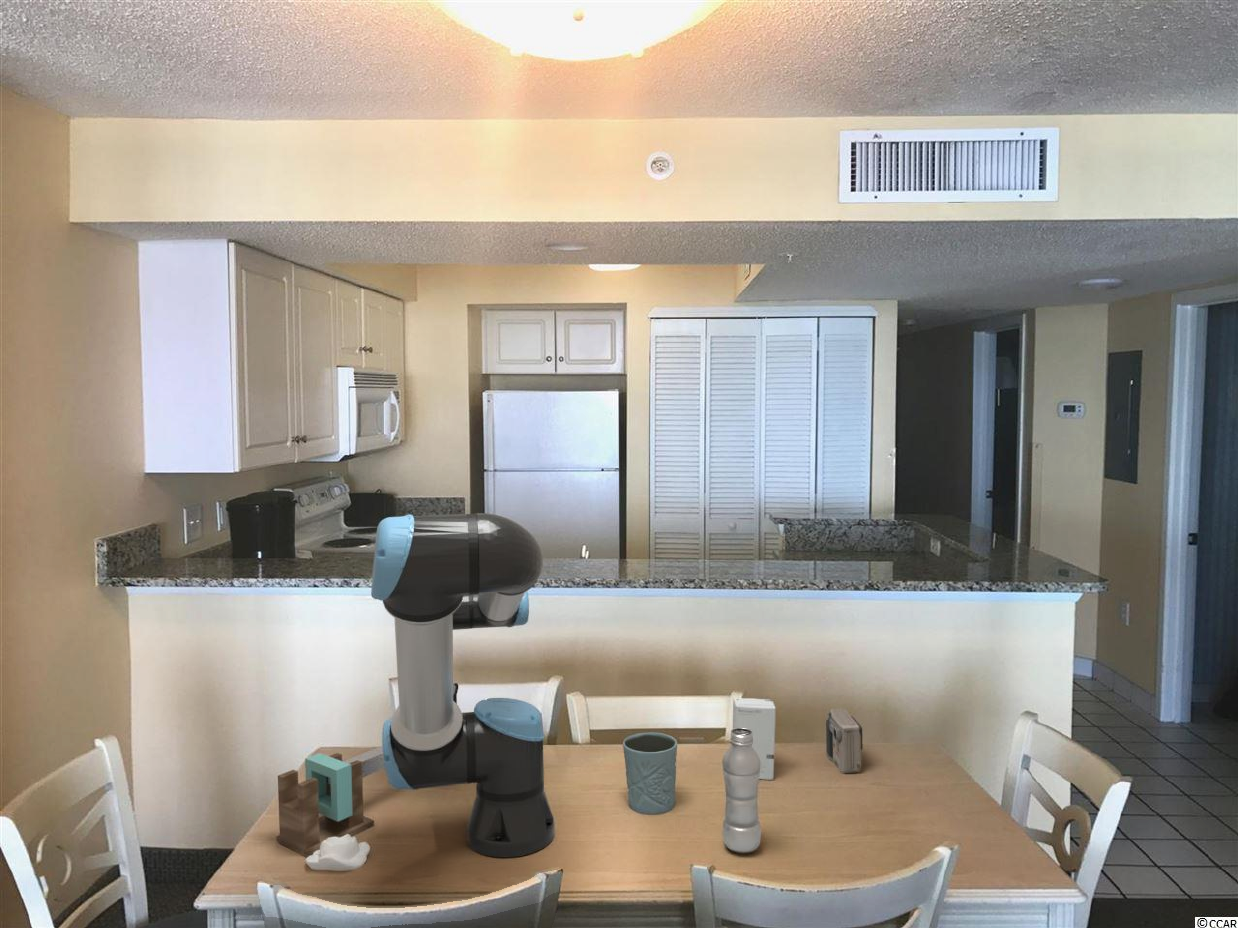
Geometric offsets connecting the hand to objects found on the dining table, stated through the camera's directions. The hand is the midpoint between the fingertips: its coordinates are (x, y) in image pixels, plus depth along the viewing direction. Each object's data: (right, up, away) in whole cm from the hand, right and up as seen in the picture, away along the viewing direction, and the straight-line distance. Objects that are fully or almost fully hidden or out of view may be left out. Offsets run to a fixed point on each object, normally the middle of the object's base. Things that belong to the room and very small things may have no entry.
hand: (431, 763), depth 171 cm
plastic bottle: (+58, -6, -25) cm, 63 cm away
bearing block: (-15, -6, -20) cm, 25 cm away
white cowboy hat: (-9, -7, -28) cm, 31 cm away
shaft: (-6, +2, -8) cm, 10 cm away
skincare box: (+64, -4, +4) cm, 64 cm away
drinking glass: (+43, -5, -9) cm, 44 cm away
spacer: (-14, -2, -19) cm, 24 cm away
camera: (+84, -3, +9) cm, 84 cm away
